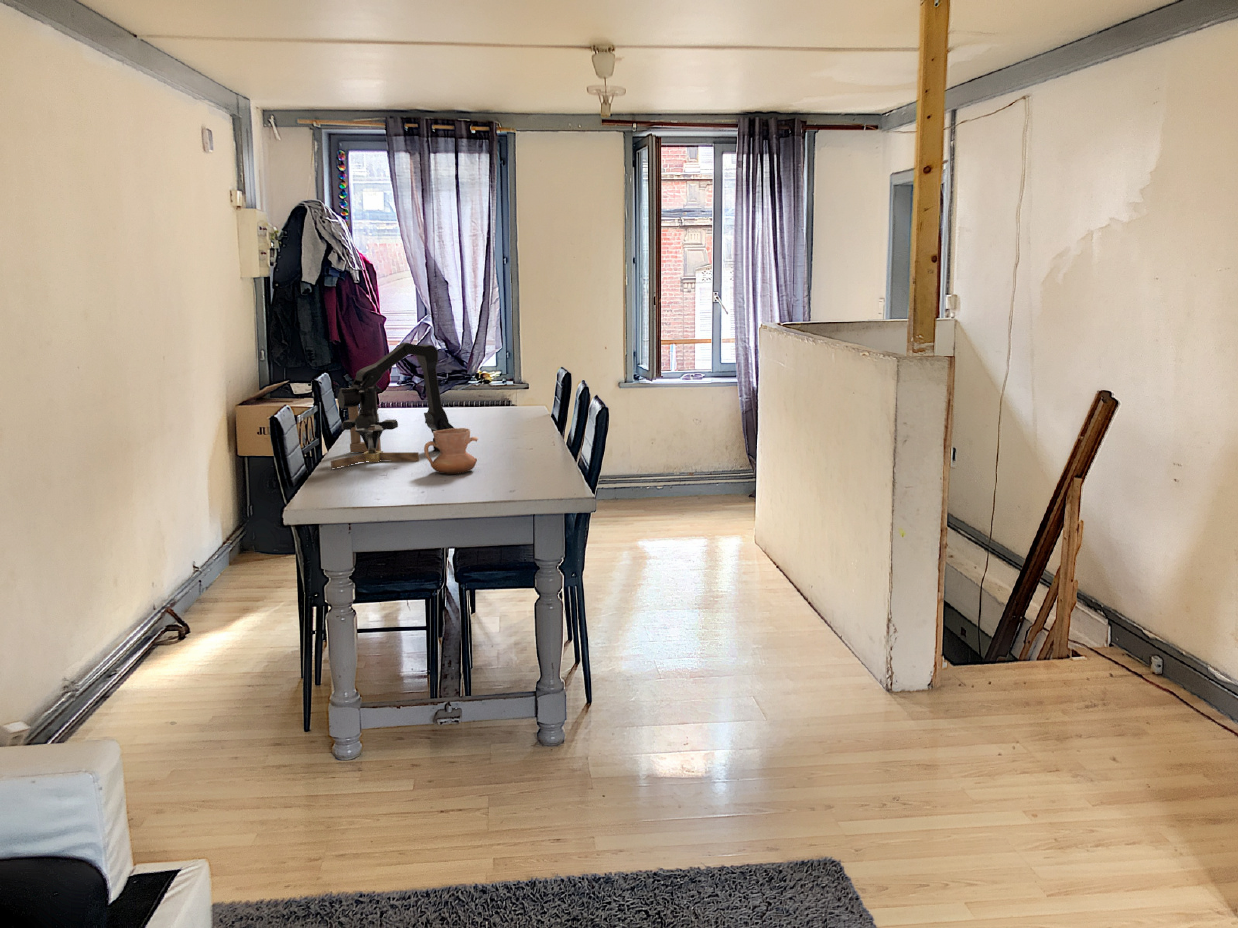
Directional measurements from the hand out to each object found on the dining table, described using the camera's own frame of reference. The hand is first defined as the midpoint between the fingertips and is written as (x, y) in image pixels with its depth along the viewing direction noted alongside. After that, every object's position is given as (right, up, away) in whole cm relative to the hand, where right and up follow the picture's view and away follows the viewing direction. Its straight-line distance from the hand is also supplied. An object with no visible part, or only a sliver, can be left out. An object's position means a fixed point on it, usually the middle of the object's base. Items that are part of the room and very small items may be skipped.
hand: (371, 448), depth 364 cm
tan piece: (+3, -6, -6) cm, 9 cm away
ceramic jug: (+32, -8, -22) cm, 40 cm away
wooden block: (-7, -1, +19) cm, 20 cm away
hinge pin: (0, -2, 0) cm, 3 cm away
